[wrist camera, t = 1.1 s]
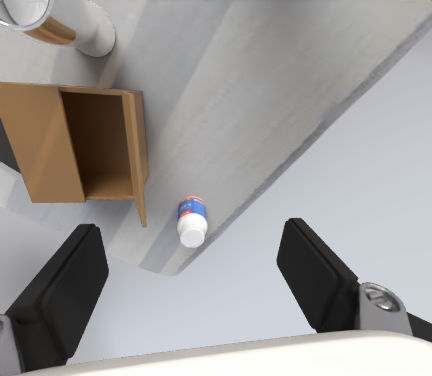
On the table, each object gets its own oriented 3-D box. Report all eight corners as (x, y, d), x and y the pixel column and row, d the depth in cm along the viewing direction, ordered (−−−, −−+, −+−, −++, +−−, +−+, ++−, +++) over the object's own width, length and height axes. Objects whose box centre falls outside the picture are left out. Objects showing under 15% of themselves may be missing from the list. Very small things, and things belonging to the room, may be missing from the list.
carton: (142, 91, 31) (123, 91, 22) (149, 175, 37) (136, 202, 28) (49, 84, 29) (-15, 81, 20) (72, 173, 35) (31, 203, 26)
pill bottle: (188, 190, 39) (188, 219, 31) (210, 203, 41) (216, 233, 33) (173, 210, 41) (169, 242, 32) (194, 222, 43) (196, 255, 34)
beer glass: (72, 60, 28) (-30, 33, 15) (54, -5, 25) (-96, -112, 12) (124, 60, 29) (70, 34, 16) (112, -3, 26) (33, -102, 13)
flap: (122, 91, 22) (126, 91, 22) (135, 202, 28) (138, 201, 28) (128, 93, 17) (133, 94, 17) (143, 228, 23) (146, 227, 23)
